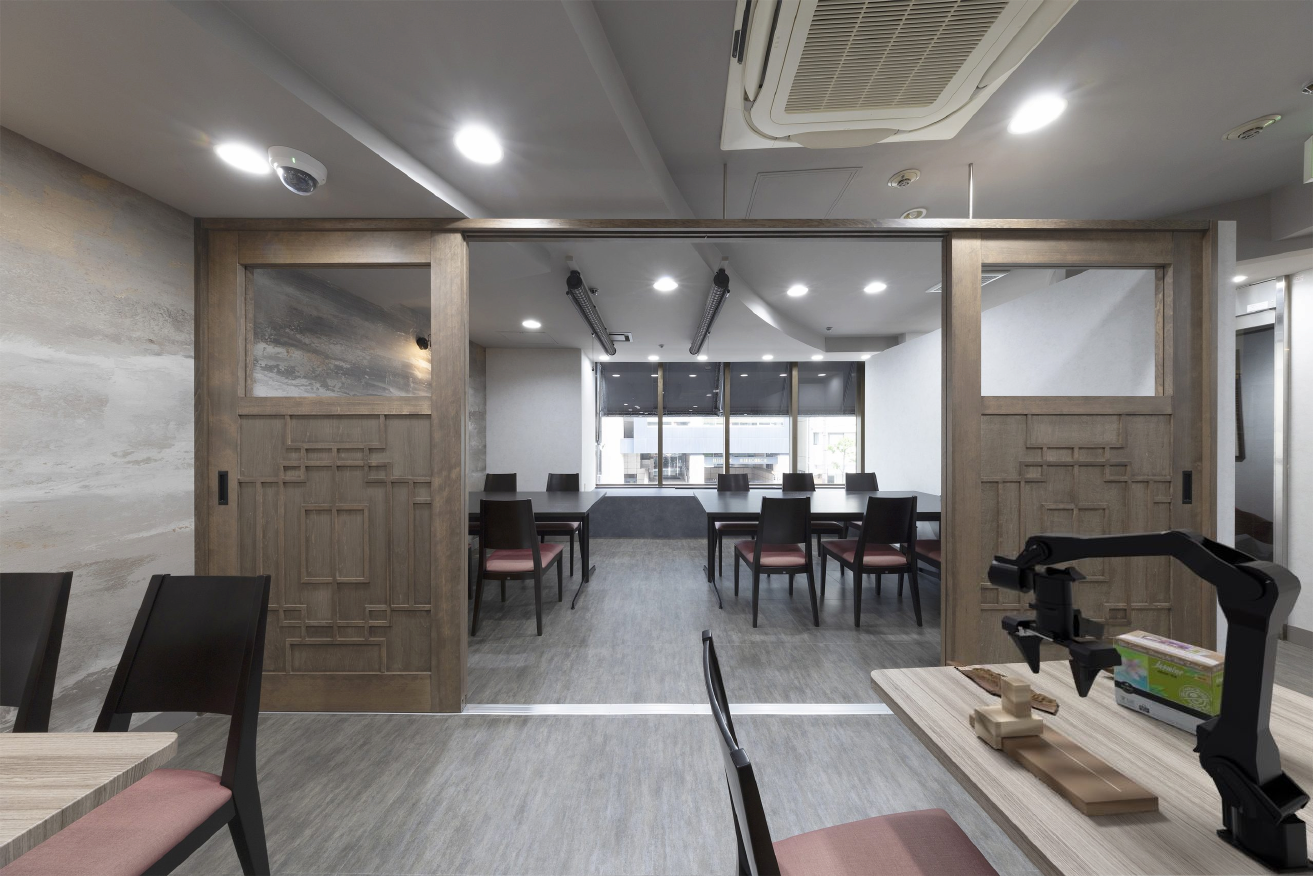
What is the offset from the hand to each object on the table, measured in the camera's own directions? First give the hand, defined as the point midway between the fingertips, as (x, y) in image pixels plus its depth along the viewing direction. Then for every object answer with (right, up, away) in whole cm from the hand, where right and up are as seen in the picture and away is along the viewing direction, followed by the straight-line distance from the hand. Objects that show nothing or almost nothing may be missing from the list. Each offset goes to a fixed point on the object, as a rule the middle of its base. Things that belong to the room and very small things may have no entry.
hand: (1058, 684), depth 87 cm
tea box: (+31, -12, +9) cm, 35 cm away
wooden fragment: (+5, -13, +23) cm, 27 cm away
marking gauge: (-8, -11, +2) cm, 14 cm away
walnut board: (-5, -12, -4) cm, 13 cm away
